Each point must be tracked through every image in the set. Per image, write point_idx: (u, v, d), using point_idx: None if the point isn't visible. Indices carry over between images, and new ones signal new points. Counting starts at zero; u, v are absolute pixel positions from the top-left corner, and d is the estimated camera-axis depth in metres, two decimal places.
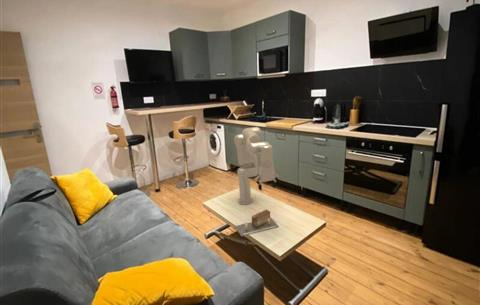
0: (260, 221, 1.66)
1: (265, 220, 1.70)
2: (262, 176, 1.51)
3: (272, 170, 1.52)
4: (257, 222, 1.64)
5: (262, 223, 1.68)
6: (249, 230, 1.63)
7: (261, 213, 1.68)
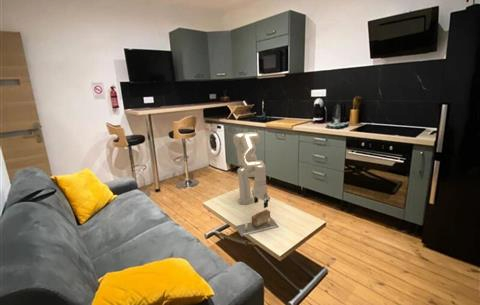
0: (260, 221, 1.66)
1: (265, 220, 1.70)
2: None
3: None
4: (257, 222, 1.64)
5: (262, 223, 1.68)
6: (249, 230, 1.63)
7: (261, 213, 1.68)
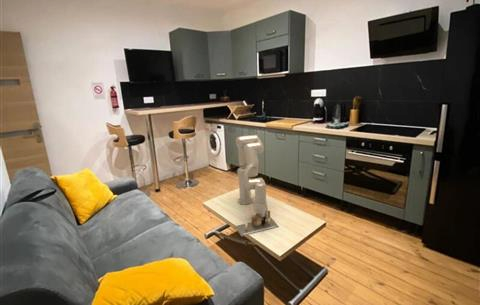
0: (260, 221, 1.66)
1: (265, 220, 1.70)
2: None
3: None
4: (257, 222, 1.64)
5: None
6: (249, 230, 1.63)
7: None
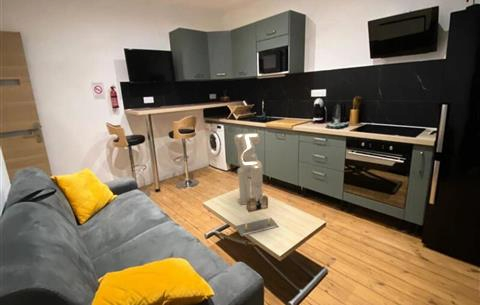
0: (255, 206, 1.58)
1: (262, 206, 1.60)
2: None
3: None
4: (250, 206, 1.57)
5: None
6: (249, 230, 1.63)
7: None
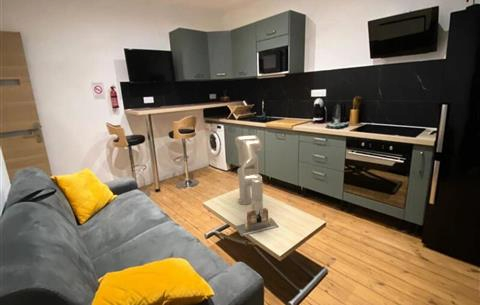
0: (255, 219, 1.61)
1: (262, 219, 1.63)
2: None
3: None
4: (251, 219, 1.60)
5: None
6: (249, 230, 1.63)
7: None
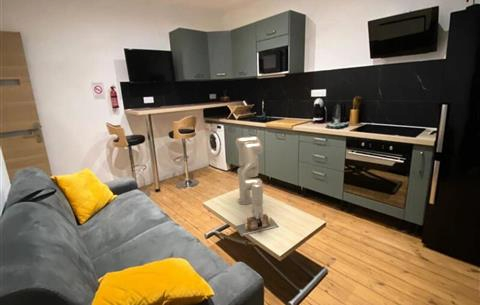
0: (255, 225, 1.62)
1: (262, 225, 1.64)
2: None
3: None
4: (251, 225, 1.61)
5: None
6: None
7: None
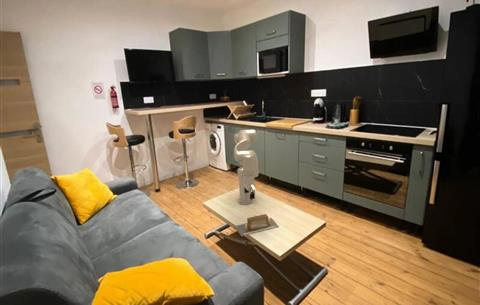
0: (255, 225, 1.62)
1: (262, 225, 1.64)
2: None
3: None
4: (251, 225, 1.61)
5: (258, 227, 1.64)
6: None
7: (258, 217, 1.64)
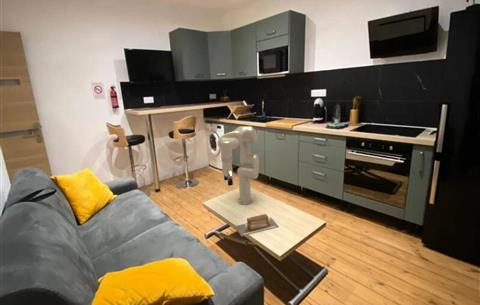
0: (255, 225, 1.62)
1: (262, 225, 1.64)
2: None
3: None
4: (251, 225, 1.61)
5: (258, 227, 1.64)
6: None
7: (258, 217, 1.64)
